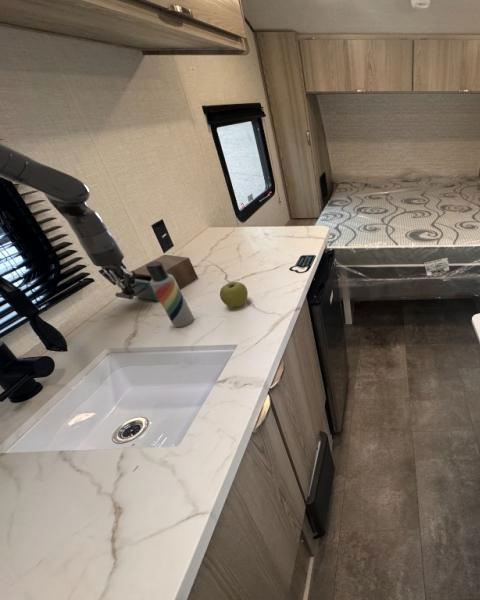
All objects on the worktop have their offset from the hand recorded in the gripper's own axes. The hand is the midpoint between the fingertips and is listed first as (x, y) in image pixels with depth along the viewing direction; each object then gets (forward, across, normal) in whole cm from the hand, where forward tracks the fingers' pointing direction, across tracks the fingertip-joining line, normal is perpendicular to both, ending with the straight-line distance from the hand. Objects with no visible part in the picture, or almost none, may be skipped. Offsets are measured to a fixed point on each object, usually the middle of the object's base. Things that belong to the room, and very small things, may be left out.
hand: (131, 295), depth 105 cm
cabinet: (+4, 0, +13) cm, 14 cm away
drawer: (+3, 0, +7) cm, 7 cm away
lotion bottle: (+4, +23, -3) cm, 24 cm away
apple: (+4, +33, +9) cm, 35 cm away
